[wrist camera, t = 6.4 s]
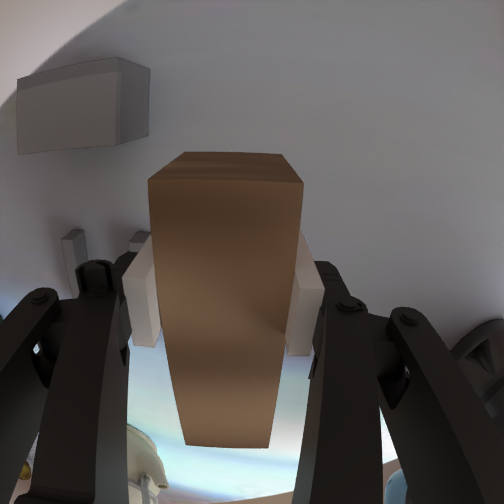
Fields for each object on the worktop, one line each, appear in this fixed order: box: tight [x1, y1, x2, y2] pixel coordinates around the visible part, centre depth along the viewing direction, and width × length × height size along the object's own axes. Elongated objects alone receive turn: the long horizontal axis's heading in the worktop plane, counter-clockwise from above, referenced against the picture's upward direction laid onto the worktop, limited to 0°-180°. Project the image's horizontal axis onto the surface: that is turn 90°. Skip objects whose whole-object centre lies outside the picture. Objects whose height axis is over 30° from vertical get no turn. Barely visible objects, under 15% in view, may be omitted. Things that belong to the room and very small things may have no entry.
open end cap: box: [61, 230, 151, 299], centre depth 29 cm, size 9×9×2 cm
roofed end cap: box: [17, 57, 150, 155], centre depth 20 cm, size 6×9×7 cm
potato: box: [19, 461, 31, 480], centre depth 51 cm, size 8×13×8 cm, turn 17°
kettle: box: [127, 425, 169, 504], centre depth 33 cm, size 25×18×25 cm
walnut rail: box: [148, 152, 304, 448], centre depth 15 cm, size 14×4×6 cm, turn 178°
